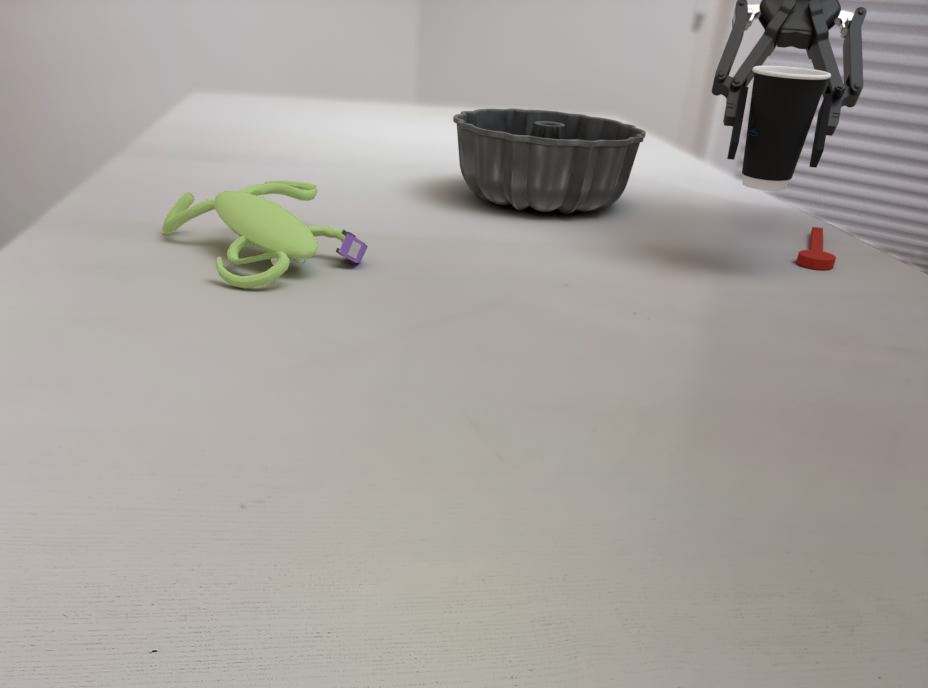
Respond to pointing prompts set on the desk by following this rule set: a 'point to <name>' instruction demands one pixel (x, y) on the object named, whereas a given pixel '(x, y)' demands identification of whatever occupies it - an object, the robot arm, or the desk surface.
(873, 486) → the desk surface
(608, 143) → the bundt pan
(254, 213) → the figurine
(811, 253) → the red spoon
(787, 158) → the dixie cup
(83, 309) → the desk surface
